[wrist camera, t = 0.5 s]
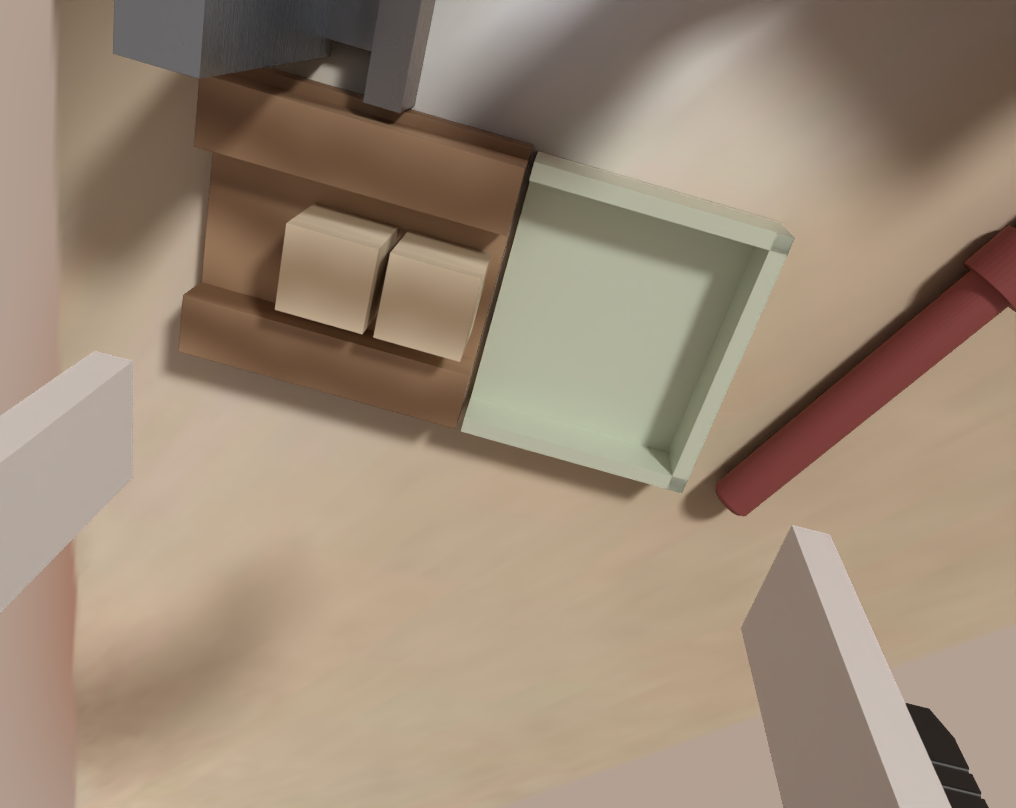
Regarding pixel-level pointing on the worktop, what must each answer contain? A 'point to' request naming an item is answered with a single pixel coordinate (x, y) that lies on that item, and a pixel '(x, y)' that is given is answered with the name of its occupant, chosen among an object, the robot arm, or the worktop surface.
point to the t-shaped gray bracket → (279, 37)
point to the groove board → (350, 187)
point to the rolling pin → (879, 376)
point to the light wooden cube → (431, 294)
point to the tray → (621, 322)
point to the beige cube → (334, 267)
